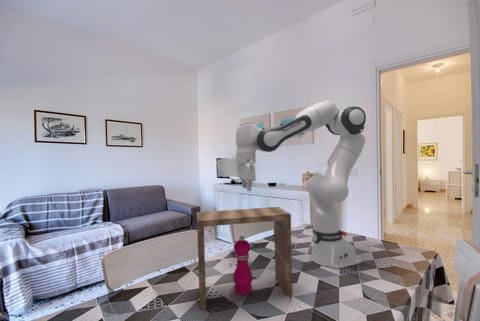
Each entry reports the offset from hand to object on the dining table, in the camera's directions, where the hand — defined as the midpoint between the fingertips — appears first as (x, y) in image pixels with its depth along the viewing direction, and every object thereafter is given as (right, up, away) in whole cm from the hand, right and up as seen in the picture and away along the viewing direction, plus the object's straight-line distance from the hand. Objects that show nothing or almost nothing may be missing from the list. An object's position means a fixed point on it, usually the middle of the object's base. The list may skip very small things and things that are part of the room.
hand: (246, 189), depth 110 cm
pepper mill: (-2, -35, -21) cm, 41 cm away
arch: (-2, -35, -23) cm, 42 cm away
